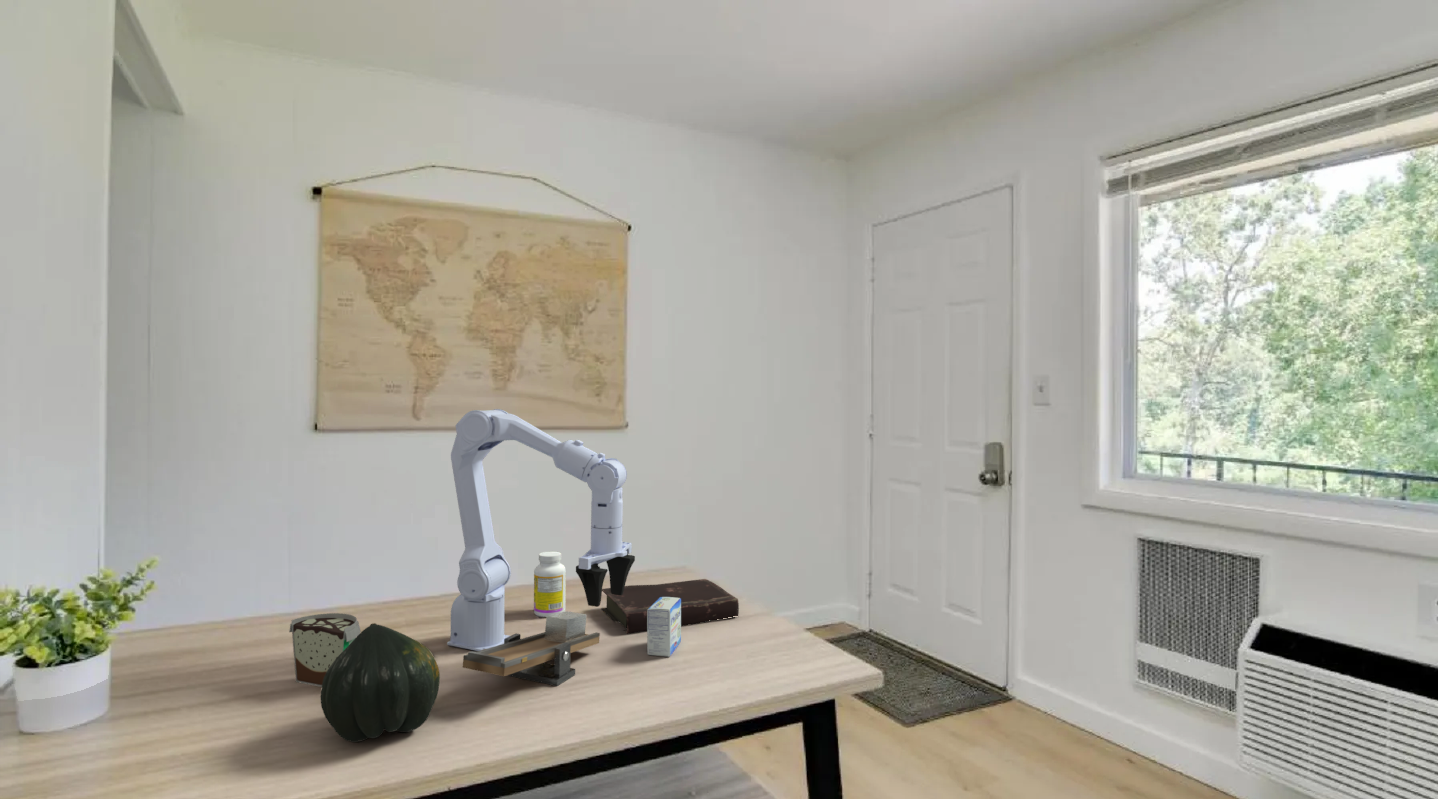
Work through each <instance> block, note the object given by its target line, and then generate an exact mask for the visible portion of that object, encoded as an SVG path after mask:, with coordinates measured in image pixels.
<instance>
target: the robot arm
mask: <svg viewBox="0 0 1438 799" xmlns="http://www.w3.org/2000/svg"><path fill="white" fill-rule="evenodd" d="M455 431H456V434H455V438H454V442H453V446H452V449H451V452H450V460H451V461H450V462H451V466H452V467H451V468H452V473H453V474H452V475H453V479H454V485H455V493H456V498H457V505H458V510H459V511H458V512H459V516H460V523H461V524H460V525H461V530H462V536H463V542H464V547H465V548H464V551H463V553H462V555H461V557H460V559H459V561H458V566H459V567H458V568H459V574H458V576H457V579H456V580H457V582H456V583H457V584H456V585H457V588H458V592H459V593H460V594H459V595H458V596H457V597H456V598H455V599H454V600H453V602H452V605H451V607H450V608H451V609H450V640H449V641H447V643H446V645H447V646H451V647H455V648H461V649H466V650H471V651H474V652H477V651H481V650H484V649H488V648H491V647H495V646H498V645H502V644H504V639H505V638H507V637H509V636H510V635H507V634H505V598H506V597H505V593H506V592H505V591H506V590H505V586H506V585H507V583H508V582H509V581H510V579H511V574H512V569H511V566H510V564H509V562H508V561H507V559H506V557H505V554H504V550H503V548H502V547H501V546H500V545H499V543H497V542H496V540H495V532H494V527H493V520H492V513H491V507H490V502H489V495H488V487H487V482H486V477H485V470H484V464H483V463H484V462H483V461H484V459H486V457H487V456H488V454H490V452H491V451H492V450H493V449H494V448H495V447H496V446H498V445H499V444H501V443H503V442H504V441H516V442H518V443H521V444H522V445H525V446H526V447H529V448H531V449H533V450H536V451H538V452H540V453H541V454H544V455H545V456H546V455H547V456H548V457H550V458H552V460H553V464H554V465H555V467H556V468H557V469H559V470H561V471H562V472H564V473H566V474H568V475H571V476H572V477H574V478H575V479H578V480H580V481H581V482H584V483H586V484H587V487H589V489H590V491H591V503H590V504H591V510H590V513H591V514H590V549H589V550H587V552H586V553H585V554H583V555H582V556H580V557H578V565H576V566H575V572H576V574H577V576H578V578H579V579H580V582H581V583H582V586H583V589H584V593H585V598H586V602H587V605H588V606H591V607H596V608H597V607H598V608H599V607H600V605H601V602H602V596H603V595H602V594H603V593H602V592H603V591H602V589H603V585H604V581H605V579H606V578H605V577H606V575H607V573H608V574H609V588H610V589H611V594H614V595H620V596H621V595H622V594H623V591H624V587H625V586H626V582H627V578H628V576H629V573H630V571H631V568H632V566H633V564H634V562H635V561H636V556H635V555H632V549H633V547H632V542H628V541H627V542H626V541H623V527H624V526H623V522H624V521H623V520H624V519H623V518H624V501H623V500H624V499H623V494H624V493H623V489H624V488H623V485H624V484H625V483H626V481H627V479H628V478H627V477H628V471H627V469H626V467H625V465H624V463H622V462H621V461H619V459H617V458H616V457H615V458H614V457H611V458H610V457H609V458H606V454H605V453H603V452H599V453H597V452H595V451H594V450H592V449H590V448H588V447H586V446H584V443H585V442H584V441H582V440H580V439H575V440H572V439H568V440H565V441H560V440H558V439H557V438H555V437H554V436H551V435H550V434H548V433H547V432H545V431H544V430H541V429H540V428H538V427H536V426H535V425H533V424H531V423H529V421H527V420H524V419H522V418H521V417H519V416H518V415H516V414H513V413H509V412H507V411H505V410H503V409H500V408H494V409H491V410H490V409H489V410H481V409H479V410H478V409H474V410H473V409H472V410H470V411H468V412H466V413H465V414H464V415H463V416H462V417H461V419H459V420H458V422H457V423H456V424H455ZM630 554H631V555H630ZM604 562H605V563H606V565H607V568H601V566H599V565H600V564H601V563H604Z"/></svg>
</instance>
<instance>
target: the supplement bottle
mask: <svg viewBox="0 0 1438 799" xmlns="http://www.w3.org/2000/svg"><path fill="white" fill-rule="evenodd" d="M561 560H562V553H561V552H559V551H553V550H552V551H543V552H540V553H539V554H538V561H539V564H538V565H537V566H535V568H534V569H533V612H534V615H535V616H537V617H542V618H546V617H547V616H550V615H554V614H557V613H561V612H565V611H566V603H567V602H566V600H567V598H566V594H567V593H566V592H567V590H566V589H567V586H566V584H567V578H566V577H567V575H566V574H567V572H566V570H567V569H566V567H565V565H564V564H563V563H561Z"/></svg>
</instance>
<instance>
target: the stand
mask: <svg viewBox="0 0 1438 799" xmlns="http://www.w3.org/2000/svg"><path fill="white" fill-rule="evenodd" d="M519 639H521V633H514V634H510V635H509V637H507V638H505V639H504V644H505V643H509V642H512V641H516V640H519ZM570 648H571V643H564V644H562V645H560V646H558V647H556V648H555V659H554V664H552V663H547V662H544V663H541V664H538V665H535V666H532V667H529V668H527V669H524V670H521V671H518V672H515V673H512V674H509V675H507V677H513V678H518V679H522V680H527V681H531V682H537V683H541V684H545V685H549V686H556V687H558V686H560V685H561V684H563V683H565V682H566V681H568V680H570V679H571V678H572V677H574V676H575V675H576V668H573V667H571V653H570Z"/></svg>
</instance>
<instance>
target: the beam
mask: <svg viewBox="0 0 1438 799" xmlns="http://www.w3.org/2000/svg"><path fill="white" fill-rule="evenodd" d="M600 636H601V633H600V632H598V631H597V632H593V633H589V634H588V633H585V636H583V637H580V638H577V639H574V640H571V641H568V642H565V643H571V648H570V654H572V653H575V652H577V651H581V650H583V649H586V648H589V647H592V646H595V645H598V644H599V643H600ZM544 639H545V631H544V632H541V633H537V634H533V635H530V636H527V637H523V638H520V639H519V640H516V641H512V642H509V643H505V644H502V645H498V646H495V647H491V648H488V649H484V650H481V651H474V650H471V651H468V652H467V653H466V654H464V655H463V660H462V668H463V669H467V670H468V669H469V670H472V671H477V672H482V673H486V674H491V675H496V676H500V677H508V675H509V674H512V673H515V672H518V671H521V670H524V669H527V668H529V667H532V666H535V665H538V664H541V663H547V662H549V661H551V660H555V648H556V647H558V646H560V645H562V644H564V643H561V642H555V641H550V640H544Z"/></svg>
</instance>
